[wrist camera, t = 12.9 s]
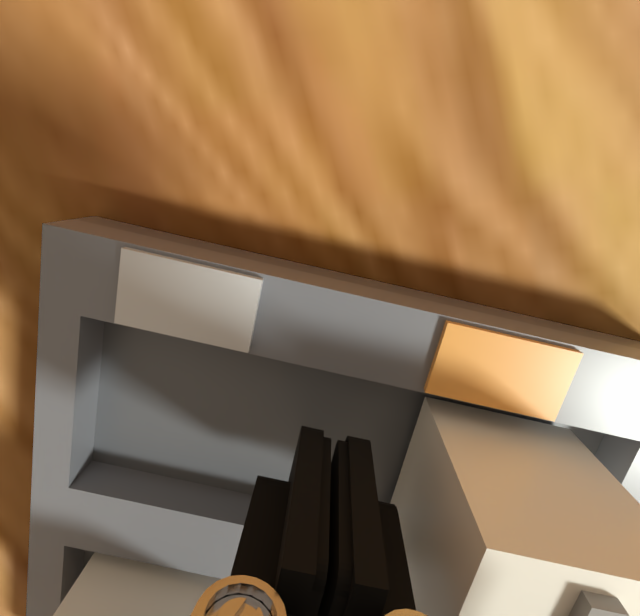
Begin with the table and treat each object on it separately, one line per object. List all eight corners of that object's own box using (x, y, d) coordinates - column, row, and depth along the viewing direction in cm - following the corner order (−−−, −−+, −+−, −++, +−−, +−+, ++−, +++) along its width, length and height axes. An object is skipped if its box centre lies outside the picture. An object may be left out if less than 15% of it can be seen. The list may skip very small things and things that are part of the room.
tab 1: (517, 545, 13) (635, 784, 8) (385, 516, 13) (417, 740, 8) (569, 429, 12) (747, 618, 7) (425, 396, 12) (493, 564, 6)
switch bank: (473, 723, 17) (495, 808, 14) (62, 638, 16) (17, 713, 14) (654, 344, 12) (727, 382, 10) (94, 215, 12) (36, 224, 10)
